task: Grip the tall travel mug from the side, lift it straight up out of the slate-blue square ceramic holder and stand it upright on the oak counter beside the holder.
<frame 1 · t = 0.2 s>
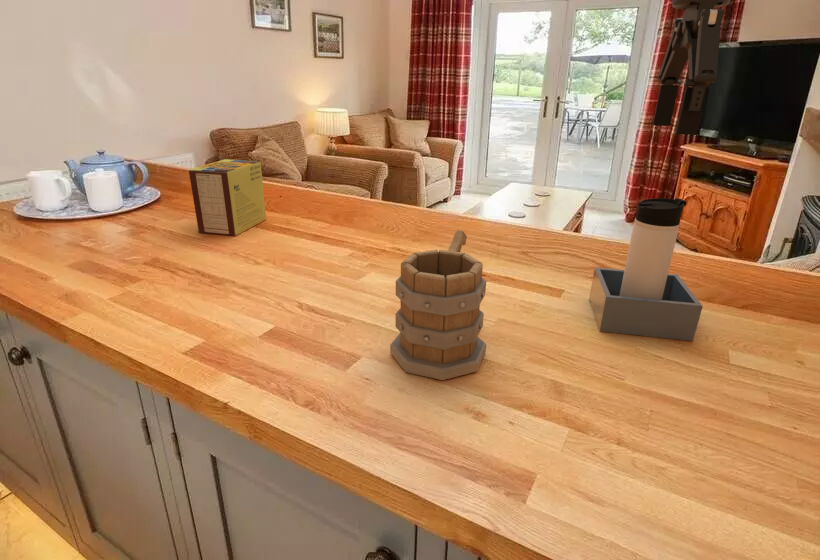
hand: (672, 129, 79), 29 cm above the counter, tool pointing down, fingers open, 13 cm apart
protein box: (233, 226, 126), on the counter
tankard: (445, 342, 73), on the counter
travel mug: (636, 319, 82), resting in holder
holder: (636, 318, 81), on the counter
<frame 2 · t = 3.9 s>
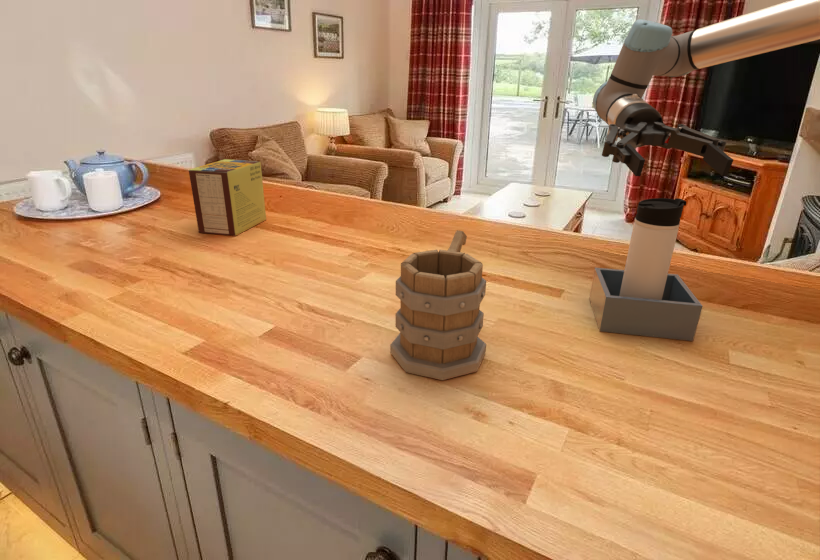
hand: (684, 168, 76), 24 cm above the counter, tool horizontal, fingers open, 13 cm apart
nothing on the counter moved.
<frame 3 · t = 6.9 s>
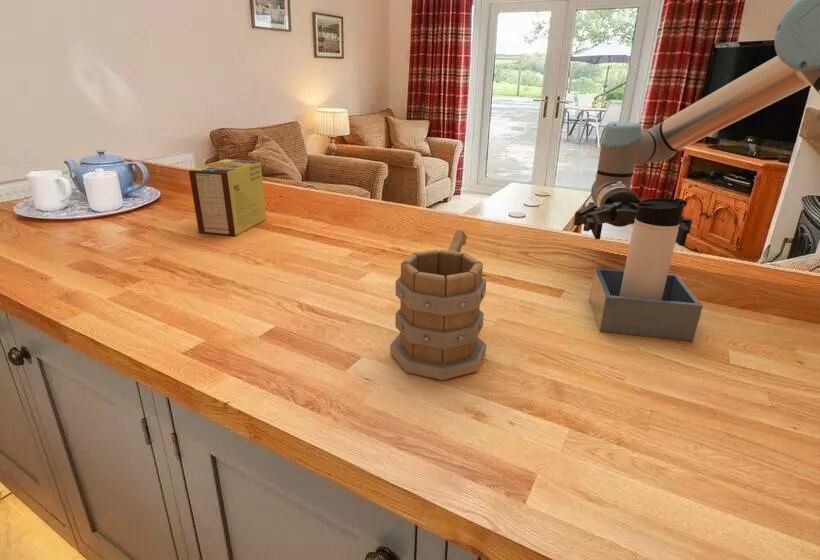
hand: (640, 235, 83), 12 cm above the counter, tool horizontal, fingers open, 13 cm apart
nothing on the counter moved.
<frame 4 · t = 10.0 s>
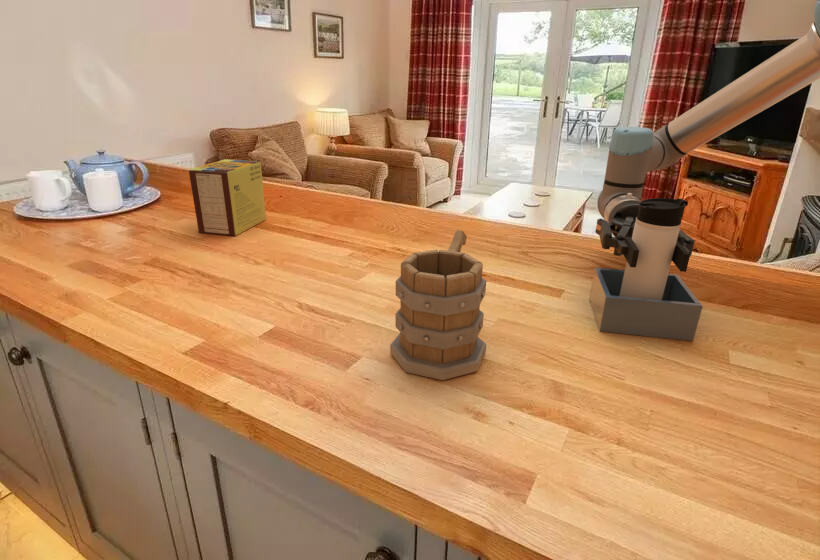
hand: (659, 260, 72), 12 cm above the counter, tool horizontal, fingers closed on travel mug, 6 cm apart
travel mug: (636, 318, 82), resting in holder, touching gripper
everything else where it was.
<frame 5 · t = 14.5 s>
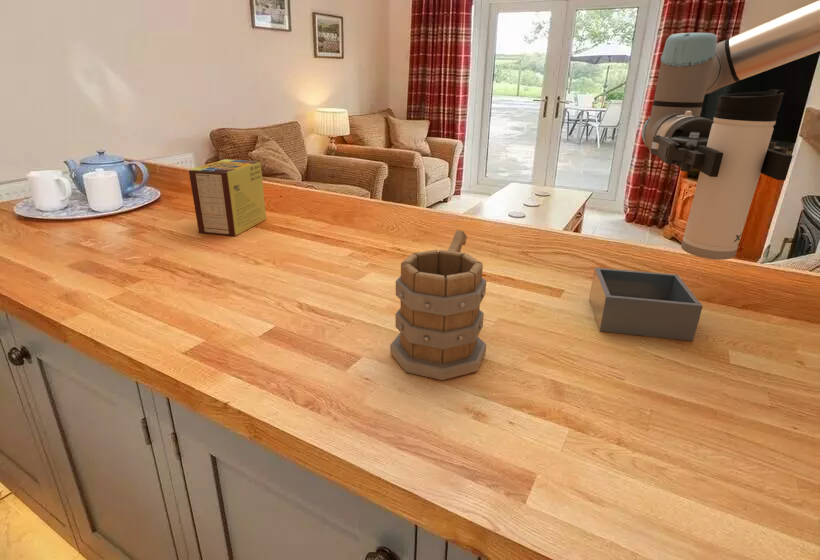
hand: (750, 166, 55), 28 cm above the counter, tool horizontal, fingers closed on travel mug, 6 cm apart
travel mug: (708, 253, 65), point 16 cm above the counter, touching gripper
everything else where it was.
when the fingers open (12 cm above the counter, at t = 19.6 s): travel mug stays where it is, on the counter.
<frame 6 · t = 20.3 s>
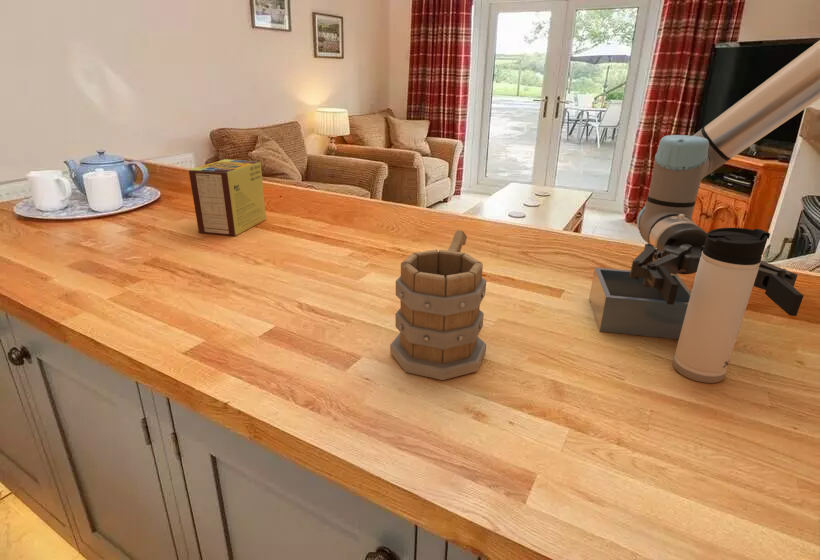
hand: (733, 300, 59), 12 cm above the counter, tool horizontal, fingers open, 13 cm apart
travel mug: (698, 371, 67), on the counter
everything else where it was.
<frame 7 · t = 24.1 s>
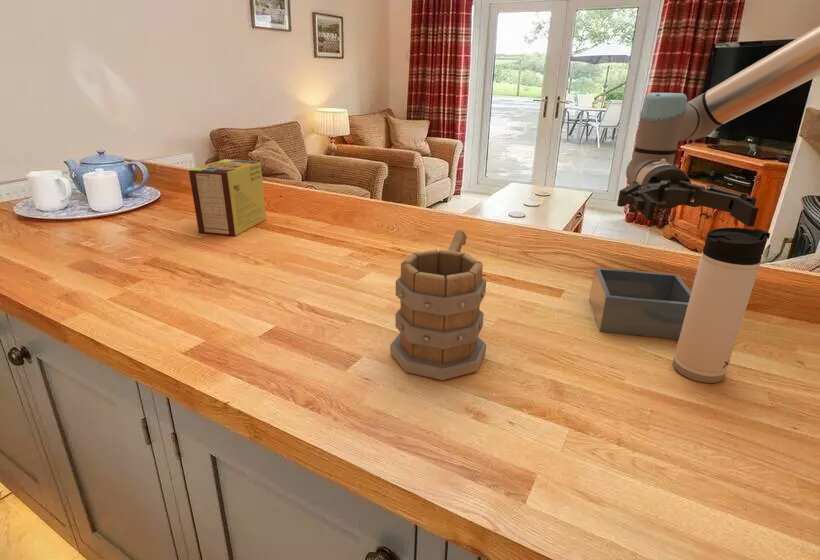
hand: (701, 214, 71), 19 cm above the counter, tool horizontal, fingers open, 13 cm apart
nothing on the counter moved.
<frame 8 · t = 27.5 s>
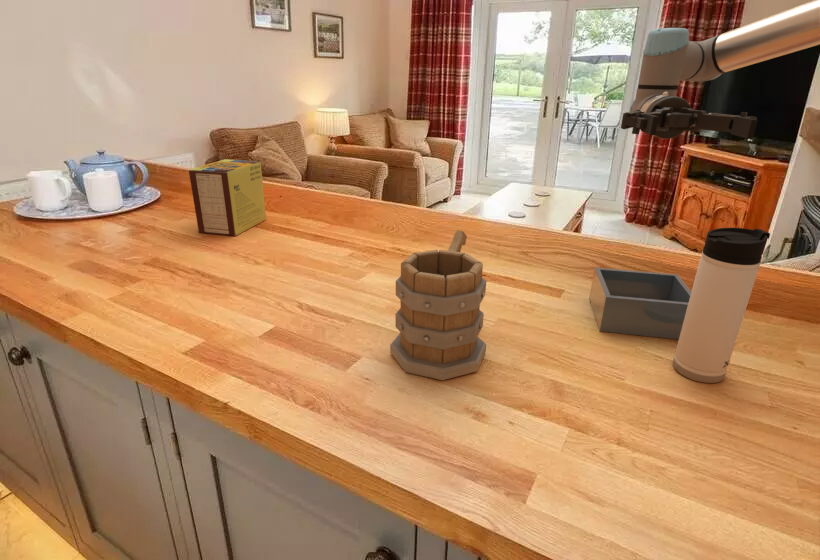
hand: (702, 127, 74), 30 cm above the counter, tool horizontal, fingers open, 13 cm apart
nothing on the counter moved.
at the end: travel mug inside the target area (0.1 cm from its centre), on the counter; travel mug tilted 0°; travel mug touching counter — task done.
